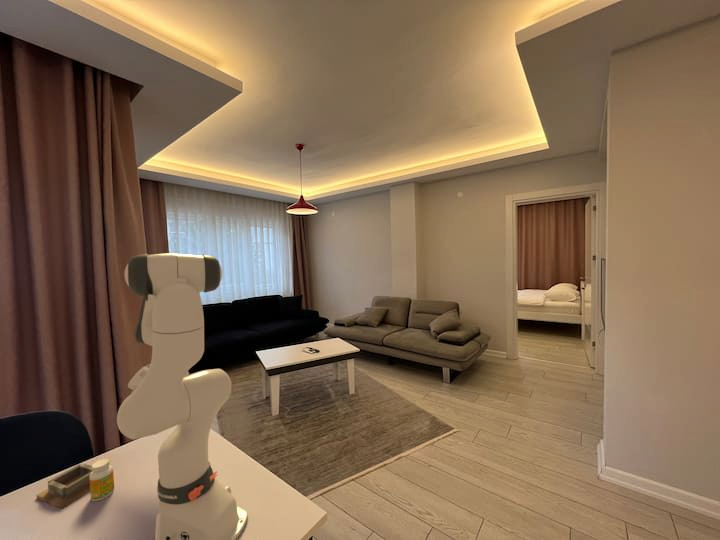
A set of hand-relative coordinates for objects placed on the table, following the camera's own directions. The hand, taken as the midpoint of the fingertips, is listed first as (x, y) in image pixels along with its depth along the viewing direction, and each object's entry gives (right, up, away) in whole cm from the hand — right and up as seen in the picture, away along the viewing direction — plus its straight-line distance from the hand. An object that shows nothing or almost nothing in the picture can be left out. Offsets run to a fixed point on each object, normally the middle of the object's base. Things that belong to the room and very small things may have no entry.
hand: (140, 406), depth 100 cm
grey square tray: (-15, -22, -8) cm, 27 cm away
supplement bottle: (-3, -22, -11) cm, 24 cm away
